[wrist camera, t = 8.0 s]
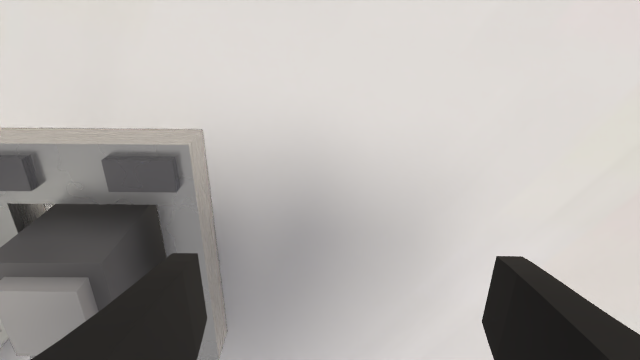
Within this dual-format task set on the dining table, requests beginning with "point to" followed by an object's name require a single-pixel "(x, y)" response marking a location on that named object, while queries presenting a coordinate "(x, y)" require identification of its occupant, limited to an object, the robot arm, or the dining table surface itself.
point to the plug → (73, 268)
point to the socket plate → (119, 191)
